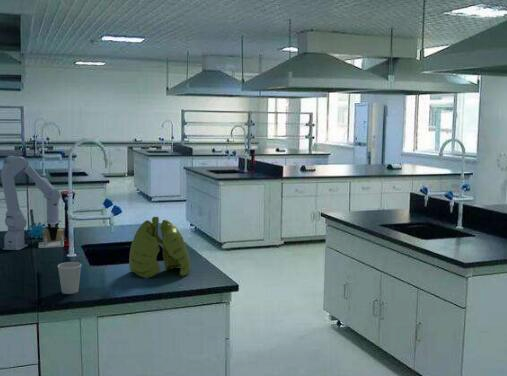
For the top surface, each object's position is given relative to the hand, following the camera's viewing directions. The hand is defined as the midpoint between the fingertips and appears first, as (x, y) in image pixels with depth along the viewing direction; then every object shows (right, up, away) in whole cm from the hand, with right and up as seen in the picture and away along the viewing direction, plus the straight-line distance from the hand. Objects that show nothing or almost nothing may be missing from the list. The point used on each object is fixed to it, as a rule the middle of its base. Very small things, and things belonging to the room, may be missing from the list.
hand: (53, 238), depth 282 cm
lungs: (+63, -10, -53) cm, 83 cm away
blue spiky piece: (-10, -1, +8) cm, 13 cm away
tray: (+3, -3, -8) cm, 9 cm away
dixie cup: (+35, -12, -80) cm, 88 cm away
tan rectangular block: (0, -2, 0) cm, 2 cm away
